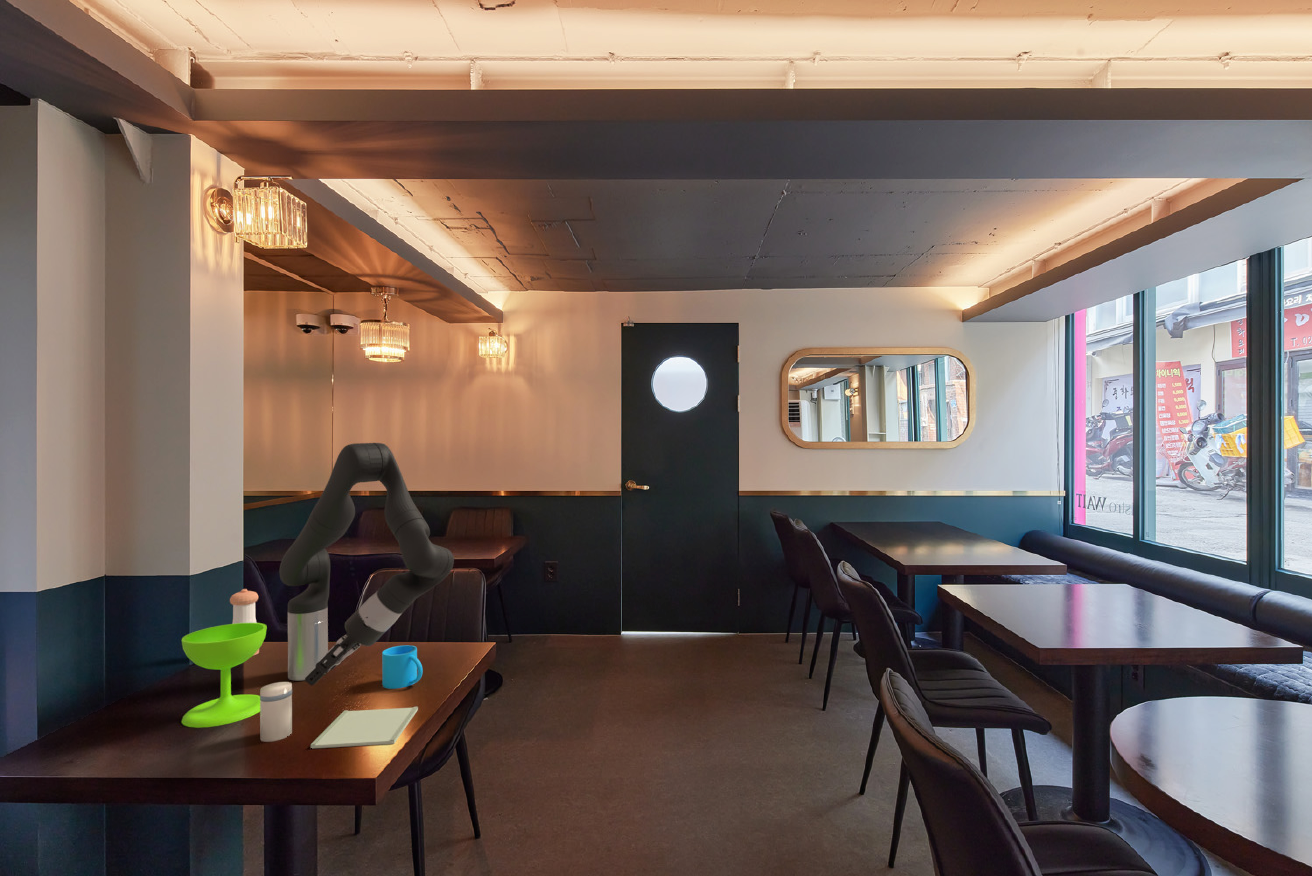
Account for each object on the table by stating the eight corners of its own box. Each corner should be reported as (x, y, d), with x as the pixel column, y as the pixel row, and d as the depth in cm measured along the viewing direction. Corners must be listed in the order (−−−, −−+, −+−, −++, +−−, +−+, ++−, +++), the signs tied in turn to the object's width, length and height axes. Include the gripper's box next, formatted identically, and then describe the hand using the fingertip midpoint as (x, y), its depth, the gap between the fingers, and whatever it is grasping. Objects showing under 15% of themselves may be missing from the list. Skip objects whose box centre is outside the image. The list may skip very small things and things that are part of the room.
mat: (344, 714, 137) (344, 710, 137) (417, 710, 138) (417, 706, 138) (310, 748, 121) (310, 744, 121) (394, 743, 122) (394, 739, 122)
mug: (375, 685, 154) (375, 653, 154) (402, 674, 161) (402, 643, 161) (408, 693, 148) (408, 660, 148) (434, 682, 155) (434, 650, 156)
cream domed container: (269, 730, 130) (269, 682, 130) (297, 728, 130) (297, 681, 130) (254, 742, 124) (254, 693, 124) (283, 741, 124) (283, 691, 125)
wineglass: (219, 697, 148) (219, 622, 148) (282, 697, 147) (282, 622, 147) (162, 727, 132) (162, 643, 132) (233, 728, 131) (232, 643, 131)
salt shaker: (222, 658, 176) (222, 591, 177) (243, 650, 183) (243, 586, 184) (244, 659, 175) (244, 592, 176) (265, 651, 182) (264, 586, 183)
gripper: (373, 597, 136) (320, 651, 135) (347, 614, 122) (287, 675, 121) (398, 620, 137) (345, 674, 135) (375, 640, 123) (315, 700, 121)
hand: (318, 674), depth 128 cm, fingers open, 8 cm apart
